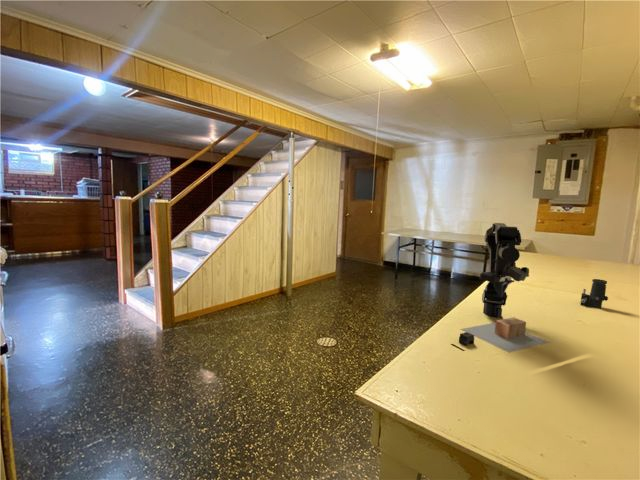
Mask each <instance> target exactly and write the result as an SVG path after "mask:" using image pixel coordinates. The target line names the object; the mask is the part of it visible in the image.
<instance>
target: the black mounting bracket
mask: <svg viewBox="0 0 640 480" xmlns="http://www.w3.org/2000/svg"><path fill="white" fill-rule="evenodd" d="M458 338H459V339H458V343H460V344H461V345H463V346H465V347H467V346H468V343H470V345H472V344H475V336H474V335H472V334H470V333H468V332H465V331H464V332H462V333H459V337H458ZM450 345H451V346H452V347H455V348H457V349H459V350H461V351H462V352H465V351H466V350H465V349H463V348H461V347H459V346H457V345H455V344H454V343H451V344H450Z"/></svg>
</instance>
